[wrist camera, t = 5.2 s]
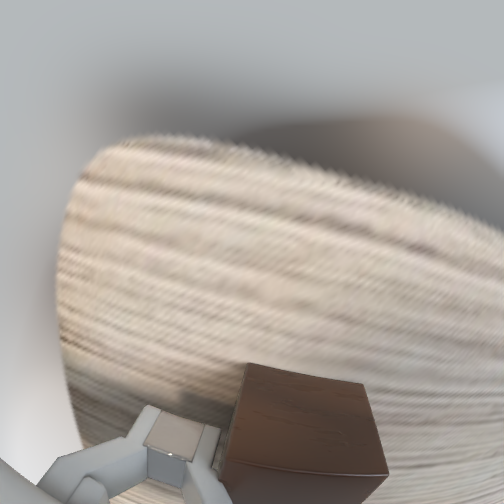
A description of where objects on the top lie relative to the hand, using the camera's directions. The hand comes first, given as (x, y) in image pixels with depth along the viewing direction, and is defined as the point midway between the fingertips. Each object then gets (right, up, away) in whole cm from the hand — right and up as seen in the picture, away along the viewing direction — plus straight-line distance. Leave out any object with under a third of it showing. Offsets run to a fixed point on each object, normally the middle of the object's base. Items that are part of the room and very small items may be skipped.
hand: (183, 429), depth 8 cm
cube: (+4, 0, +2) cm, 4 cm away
